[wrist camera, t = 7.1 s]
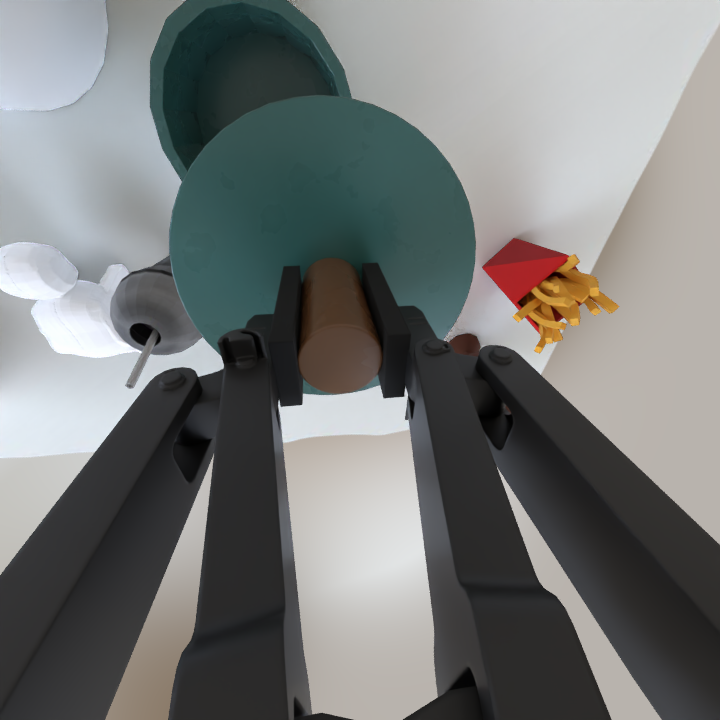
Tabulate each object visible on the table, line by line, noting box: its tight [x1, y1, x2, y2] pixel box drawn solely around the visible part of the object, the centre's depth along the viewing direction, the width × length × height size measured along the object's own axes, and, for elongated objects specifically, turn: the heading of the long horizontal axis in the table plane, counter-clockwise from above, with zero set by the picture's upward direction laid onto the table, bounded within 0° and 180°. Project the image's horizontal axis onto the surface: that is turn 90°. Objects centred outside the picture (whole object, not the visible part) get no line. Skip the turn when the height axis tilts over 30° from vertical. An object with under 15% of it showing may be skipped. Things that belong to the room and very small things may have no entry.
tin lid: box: [169, 95, 476, 395], centre depth 14 cm, size 15×15×8 cm
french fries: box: [482, 238, 619, 353], centre depth 35 cm, size 9×8×15 cm
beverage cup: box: [110, 256, 203, 389], centre depth 28 cm, size 7×7×20 cm
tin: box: [150, 0, 352, 182], centre depth 26 cm, size 14×14×8 cm
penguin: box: [0, 242, 142, 358], centre depth 33 cm, size 8×8×15 cm
